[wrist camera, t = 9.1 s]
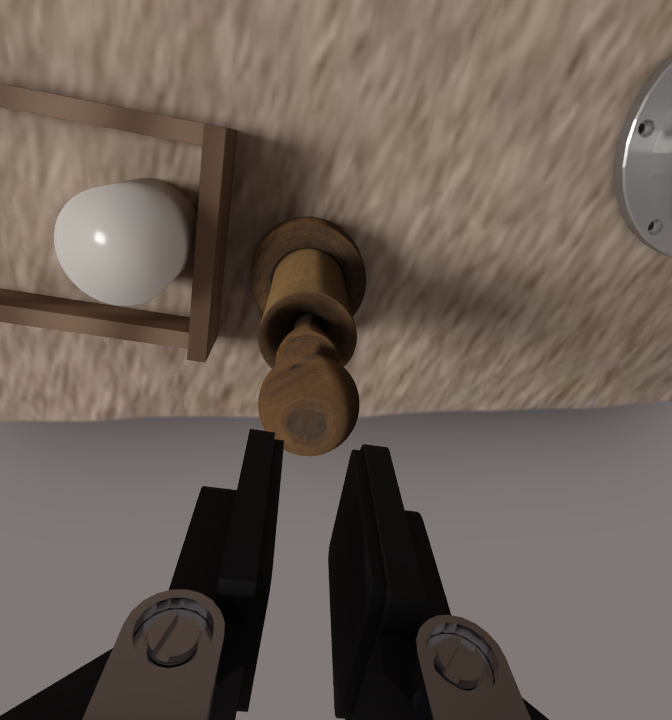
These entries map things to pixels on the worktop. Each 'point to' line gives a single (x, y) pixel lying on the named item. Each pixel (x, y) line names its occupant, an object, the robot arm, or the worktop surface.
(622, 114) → the worktop surface
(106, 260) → the white marshmallow
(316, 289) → the mortar and pestle
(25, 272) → the worktop surface
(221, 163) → the lane
